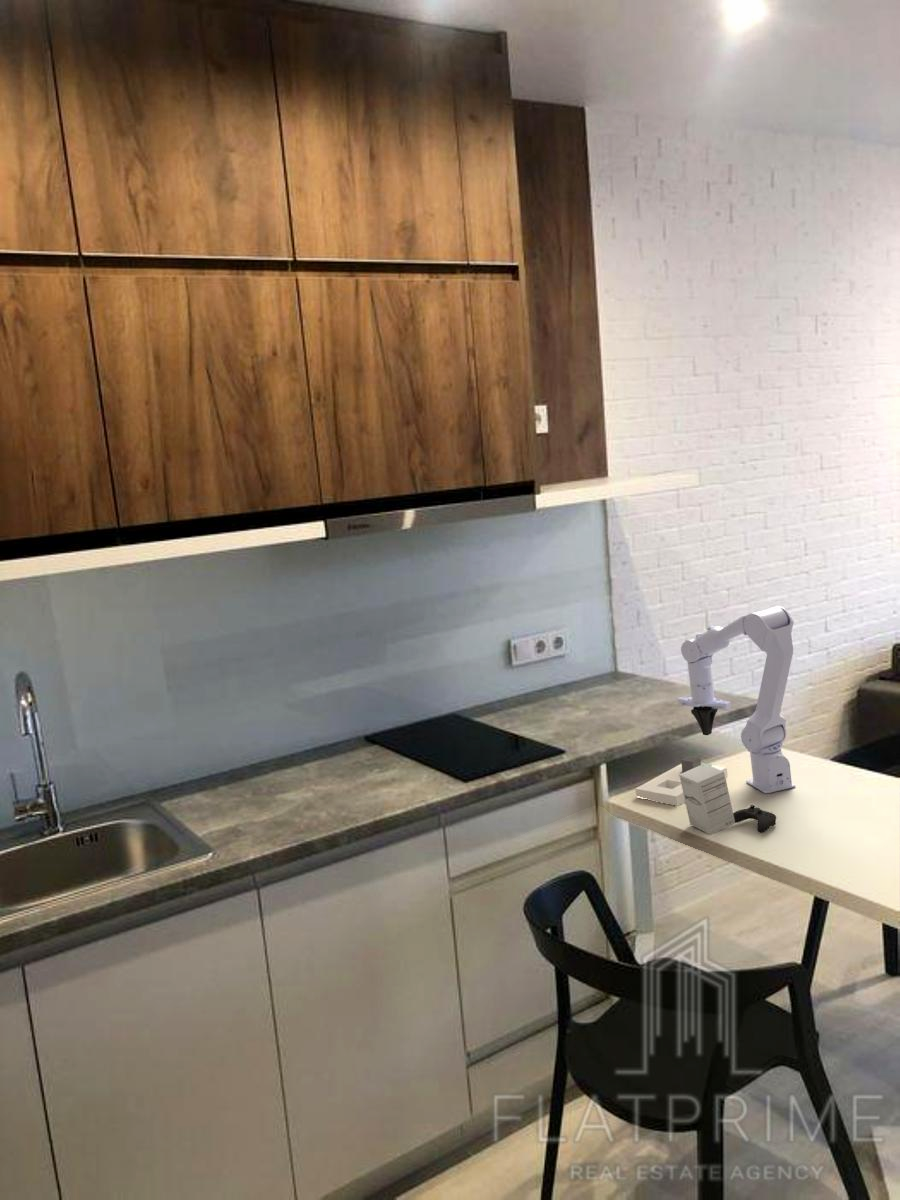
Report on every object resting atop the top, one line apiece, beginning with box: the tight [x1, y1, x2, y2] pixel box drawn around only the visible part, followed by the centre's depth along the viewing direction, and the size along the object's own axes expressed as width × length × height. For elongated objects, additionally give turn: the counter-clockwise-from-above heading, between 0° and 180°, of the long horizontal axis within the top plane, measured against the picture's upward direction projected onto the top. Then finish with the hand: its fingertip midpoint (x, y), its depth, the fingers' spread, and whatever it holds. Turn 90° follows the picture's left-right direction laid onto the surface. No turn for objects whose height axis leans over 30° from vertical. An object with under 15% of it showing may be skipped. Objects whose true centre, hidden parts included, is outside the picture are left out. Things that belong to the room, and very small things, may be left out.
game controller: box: [733, 804, 777, 834], centre depth 203 cm, size 10×5×6 cm
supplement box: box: [679, 763, 736, 835], centre depth 206 cm, size 7×7×13 cm
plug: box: [680, 755, 702, 773], centre depth 236 cm, size 4×3×6 cm
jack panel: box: [635, 762, 728, 807], centre depth 233 cm, size 22×12×3 cm, turn 132°
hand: (707, 734), depth 242 cm, fingers closed
